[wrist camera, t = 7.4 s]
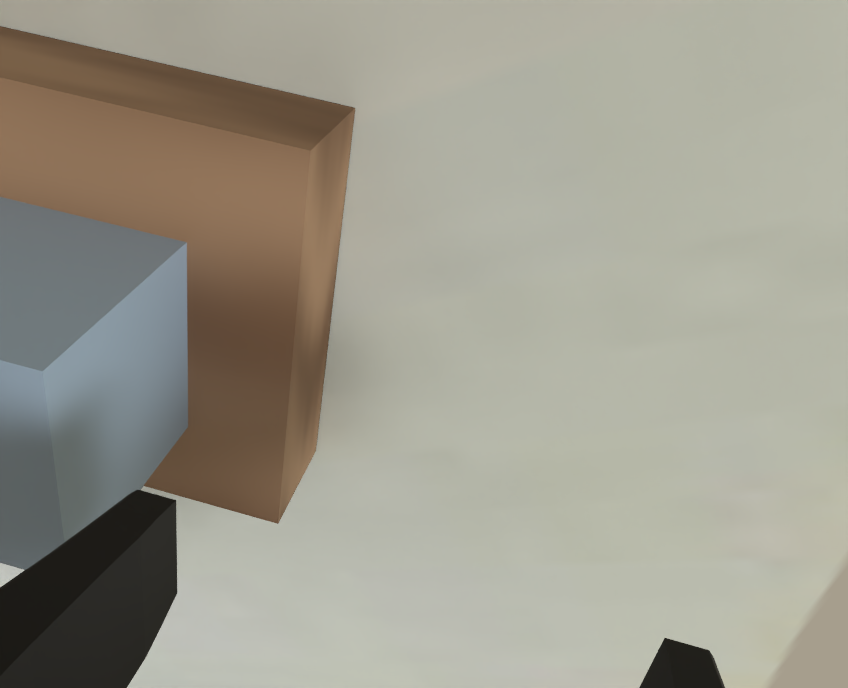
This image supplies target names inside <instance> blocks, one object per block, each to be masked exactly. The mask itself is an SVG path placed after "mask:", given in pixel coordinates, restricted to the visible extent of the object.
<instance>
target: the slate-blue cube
mask: <svg viewBox="0 0 848 688" xmlns="http://www.w3.org/2000/svg"><path fill="white" fill-rule="evenodd" d="M187 428H188V344H187V242H183V241H179V240H175V239H171V238H167V237H163V236H159V235H155V234H151V233H147V232H142V231H138V230H134V229H130V228H126V227H122V226H118V225H114V224H110V223H106V222H102V221H97V220H93V219H89V218H85V217H81V216H77V215H73V214H69V213H65V212H61V211H57V210H52V209H48V208H44V207H40V206H36V205H32V204H28V203H24V202H20V201H16V200H12V199H7V198H3V197H0V563H4V564H7V565H10V566H14V567H17V568H21V569H24V570H26V569H28V568H29V567H31V566H32V565H33V564H35V563H36V562H38V561H39V560H41V559H42V558H43V557H45V556H46V555H48V554H49V553H51V552H52V551H53V550H55V549H56V548H57V547H59V546H60V545H61V544H63V543H64V542H66V541H67V540H68V539H70V538H71V537H72V536H74V535H75V534H77V533H78V532H79V531H81V530H82V529H83V528H85V527H86V526H87V525H89V524H90V523H91V522H93V521H94V520H95V519H97V518H98V517H99V516H101V515H102V514H103V513H105V512H106V511H107V510H109V509H110V508H111V507H113V506H114V505H115V504H117V503H118V502H119V501H121V500H122V499H123V498H125V497H126V496H127V495H129V494H130V493H132V492H134V491H136V490H140V489H141V488H142V487H143V485H144V484H145V483H146V482H147V480H148V479H149V478H150V476H151V475H152V474H153V472H154V471H155V470H156V468H157V467H158V466H159V464H160V463H161V462H162V460H163V459H164V458H165V456H166V455H167V454H168V453H169V451H170V450H171V449H172V447H173V446H174V445H175V443H176V442H177V441H178V439H179V438H180V437H181V435H182V434H183V433H184V431H185V430H186V429H187Z"/></svg>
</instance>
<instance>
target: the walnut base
mask: <svg viewBox="0 0 848 688" xmlns="http://www.w3.org/2000/svg"><path fill="white" fill-rule="evenodd" d="M354 114H355V108H353V107H348V106H344V105H340V104H335V103H331V102H327V101H322V100H318V99H314V98H309V97H305V96H301V95H296V94H292V93H288V92H283V91H279V90H275V89H270V88H266V87H261V86H257V85H253V84H248V83H244V82H240V81H235V80H231V79H227V78H222V77H218V76H214V75H209V74H205V73H201V72H196V71H192V70H188V69H183V68H179V67H175V66H170V65H166V64H162V63H157V62H153V61H149V60H144V59H140V58H135V57H131V56H127V55H122V54H118V53H114V52H109V51H105V50H101V49H96V48H92V47H88V46H83V45H79V44H75V43H70V42H66V41H62V40H57V39H53V38H49V37H44V36H40V35H36V34H31V33H27V32H23V31H18V30H14V29H9V28H5V27H1V26H0V197H3V198H7V199H12V200H16V201H20V202H24V203H28V204H32V205H36V206H40V207H44V208H48V209H52V210H57V211H61V212H65V213H69V214H73V215H77V216H81V217H85V218H89V219H93V220H97V221H102V222H106V223H110V224H114V225H118V226H122V227H126V228H130V229H134V230H138V231H142V232H147V233H151V234H155V235H159V236H163V237H167V238H171V239H175V240H179V241H183V242H187V344H188V428H187V429H186V430H185V431H184V433H183V434H182V435H181V437H180V438H179V439H178V441H177V442H176V443H175V445H174V446H173V447H172V449H171V450H170V451H169V453H168V454H167V455H166V456H165V458H164V459H163V460H162V462H161V463H160V464H159V466H158V467H157V468H156V470H155V471H154V472H153V474H152V475H151V476H150V478H149V479H148V480H147V482H146V483H145V484H144V485H143V486H146V487H150V488H154V489H157V490H161V491H164V492H168V493H171V494H175V495H178V496H182V497H185V498H189V499H193V500H196V501H200V502H203V503H207V504H210V505H214V506H217V507H221V508H225V509H228V510H232V511H235V512H239V513H242V514H246V515H249V516H253V517H256V518H260V519H264V520H267V521H271V522H274V523H279V521H280V519H281V517H282V515H283V513H284V511H285V509H286V507H287V505H288V504H289V502H290V500H291V498H292V496H293V494H294V492H295V490H296V488H297V486H298V484H299V482H300V480H301V478H302V476H303V475H304V473H305V471H306V469H307V467H308V465H309V463H310V461H311V459H312V457H313V455H314V453H315V451H316V445H317V436H318V427H319V418H320V410H321V401H322V392H323V384H324V375H325V366H326V358H327V349H328V340H329V331H330V323H331V314H332V305H333V297H334V288H335V279H336V271H337V262H338V253H339V244H340V236H341V227H342V218H343V210H344V201H345V192H346V184H347V175H348V166H349V157H350V149H351V140H352V131H353V123H354Z"/></svg>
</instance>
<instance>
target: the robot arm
mask: <svg viewBox="0 0 848 688" xmlns="http://www.w3.org/2000/svg"><path fill="white" fill-rule="evenodd" d="M176 594H177V543H176V500H173V499H169V498H166V497H162V496H158V495H155V494H151V493H148V492H144V491H141V490H136V491H134V492H132V493H130V494H129V495H127V496H126V497H125V498H123V499H122V500H121V501H119V502H118V503H117V504H115V505H114V506H113V507H111V508H110V509H109V510H107V511H106V512H105V513H103V514H102V515H101V516H99V517H98V518H97V519H95V520H94V521H93V522H91V523H90V524H89V525H87V526H86V527H85V528H83V529H82V530H81V531H79V532H78V533H77V534H75V535H74V536H72V537H71V538H70V539H68V540H67V541H66V542H64V543H63V544H61V545H60V546H59V547H57V548H56V549H55V550H53V551H52V552H51V553H49V554H48V555H46V556H45V557H43V558H42V559H41V560H39V561H38V562H36V563H35V564H33V565H32V566H31V567H29V568H28V569H26V570H25V571H23V572H22V573H20V574H19V575H18V576H16V577H15V578H13V579H12V580H10V581H9V582H8V583H6V584H5V585H3V586H2V587H0V688H127V686H128V685H129V683H130V682H131V680H132V678H133V677H134V675H135V674H136V672H137V670H138V669H139V667H140V666H141V664H142V662H143V661H144V659H145V657H146V656H147V654H148V652H149V650H150V648H151V646H152V644H153V642H154V640H155V638H156V636H157V634H158V632H159V630H160V628H161V626H162V624H163V621H164V619H165V617H166V615H167V613H168V611H169V609H170V607H171V605H172V603H173V600H174V598H175V596H176ZM640 688H725V687H724V684H723V681H722V679H721V676H720V673H719V671H718V668H717V665H716V663H715V660H714V658H713V656H712V654H711V653H710V651H709V650H706V649H702V648H699V647H695V646H692V645H688V644H685V643H681V642H677V641H674V640H670V639H667V638H665V639H664V641H663V643H662V645H661V646H660V648H659V650H658V652H657V654H656V656H655V658H654V660H653V662H652V664H651V666H650V668H649V670H648V672H647V674H646V676H645V678H644V680H643V682H642V684H641V686H640Z"/></svg>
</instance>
